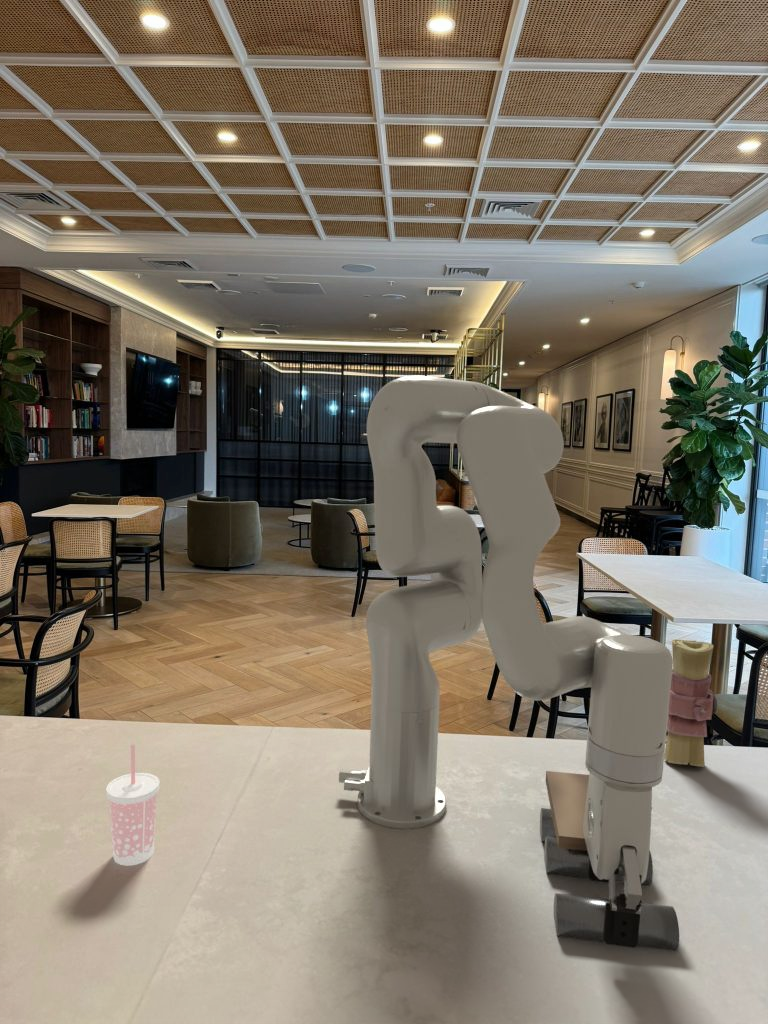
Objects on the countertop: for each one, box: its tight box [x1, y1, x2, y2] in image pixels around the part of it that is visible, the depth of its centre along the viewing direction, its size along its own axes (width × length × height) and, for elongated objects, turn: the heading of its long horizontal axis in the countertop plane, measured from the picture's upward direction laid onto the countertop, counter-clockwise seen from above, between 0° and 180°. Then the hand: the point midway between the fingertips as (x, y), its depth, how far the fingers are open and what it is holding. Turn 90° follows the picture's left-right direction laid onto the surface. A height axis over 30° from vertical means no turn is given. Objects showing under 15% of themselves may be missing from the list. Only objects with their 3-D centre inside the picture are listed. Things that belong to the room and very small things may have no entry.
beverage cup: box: [105, 744, 161, 867], centre depth 84 cm, size 6×6×14 cm
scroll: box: [664, 639, 718, 768], centre depth 112 cm, size 8×8×20 cm
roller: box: [553, 892, 680, 951], centre depth 73 cm, size 12×4×4 cm, turn 82°
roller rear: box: [539, 807, 556, 843], centre depth 90 cm, size 12×4×4 cm
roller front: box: [543, 837, 654, 885], centre depth 83 cm, size 12×4×4 cm
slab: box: [545, 770, 589, 851], centre depth 88 cm, size 10×16×2 cm, turn 172°
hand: (610, 909), depth 73 cm, fingers open, 9 cm apart
